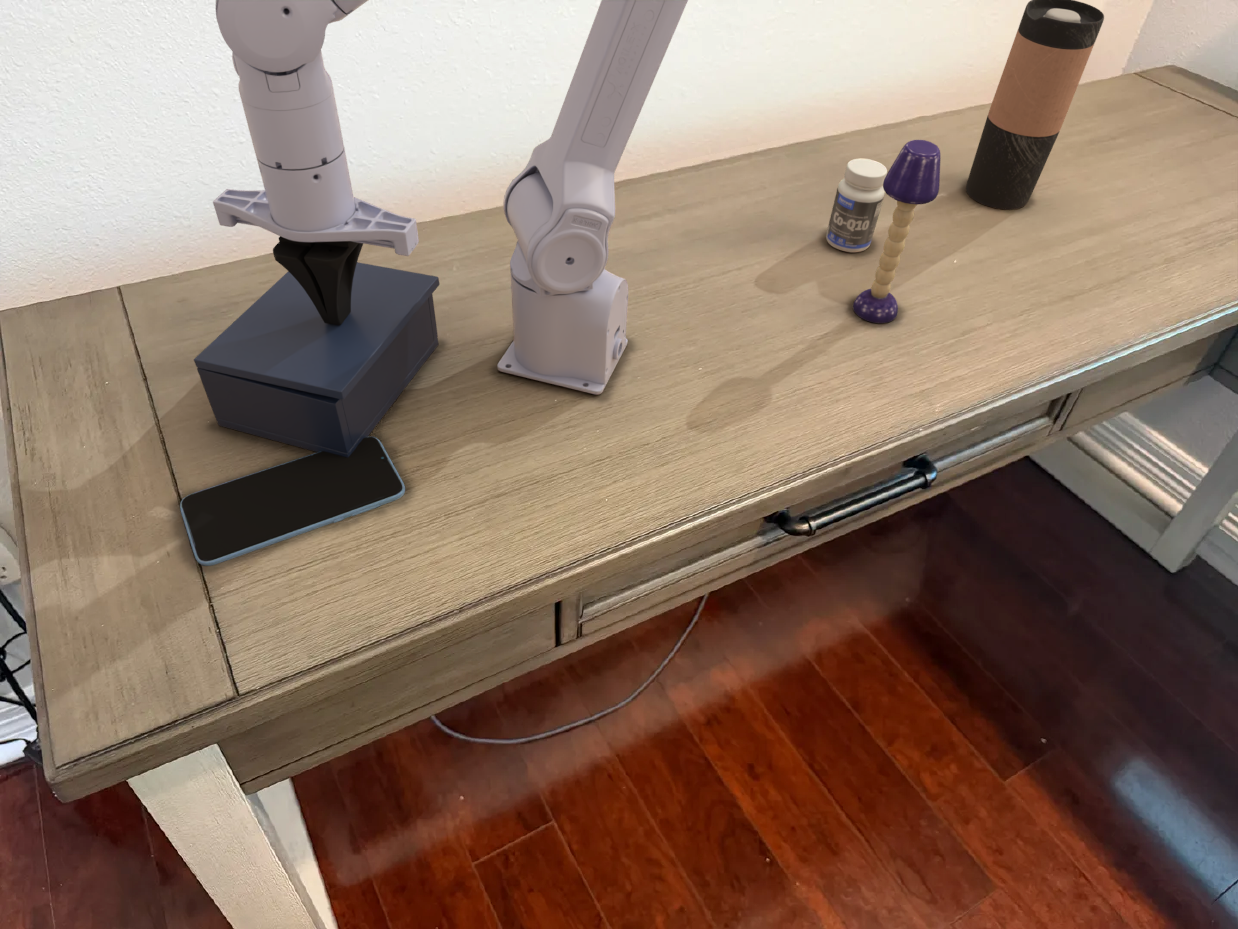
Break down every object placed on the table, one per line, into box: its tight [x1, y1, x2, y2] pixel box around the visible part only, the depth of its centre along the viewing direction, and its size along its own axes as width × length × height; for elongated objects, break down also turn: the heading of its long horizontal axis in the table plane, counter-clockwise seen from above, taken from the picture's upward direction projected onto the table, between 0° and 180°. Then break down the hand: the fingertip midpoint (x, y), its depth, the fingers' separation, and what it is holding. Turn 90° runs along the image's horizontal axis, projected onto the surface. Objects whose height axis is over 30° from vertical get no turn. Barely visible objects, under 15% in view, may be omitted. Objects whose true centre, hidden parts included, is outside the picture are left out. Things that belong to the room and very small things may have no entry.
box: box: [196, 293, 439, 457], centre depth 73 cm, size 12×16×6 cm
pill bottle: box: [825, 157, 888, 253], centre depth 91 cm, size 5×5×8 cm
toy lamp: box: [852, 139, 941, 324], centre depth 79 cm, size 5×5×17 cm
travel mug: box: [965, 0, 1105, 210], centre depth 96 cm, size 8×8×20 cm
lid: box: [193, 261, 440, 400], centre depth 70 cm, size 12×16×1 cm
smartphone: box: [179, 435, 406, 567], centre depth 66 cm, size 7×1×15 cm
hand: (337, 317), depth 69 cm, fingers closed
